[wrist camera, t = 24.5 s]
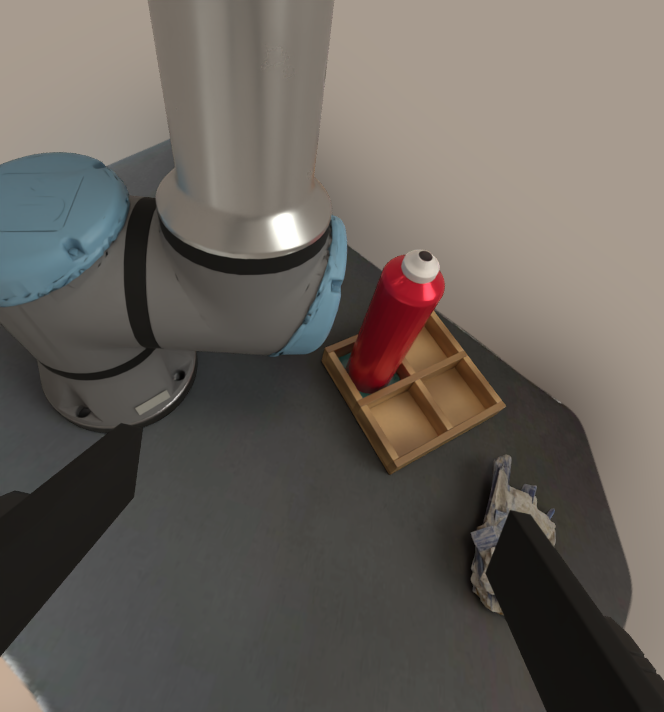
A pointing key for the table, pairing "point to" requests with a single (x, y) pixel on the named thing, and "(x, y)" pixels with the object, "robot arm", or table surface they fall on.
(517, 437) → the table surface
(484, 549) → the crumpled cloth bundle
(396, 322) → the bottle
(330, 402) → the table surface
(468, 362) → the wooden divided tray
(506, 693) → the table surface
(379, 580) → the table surface
